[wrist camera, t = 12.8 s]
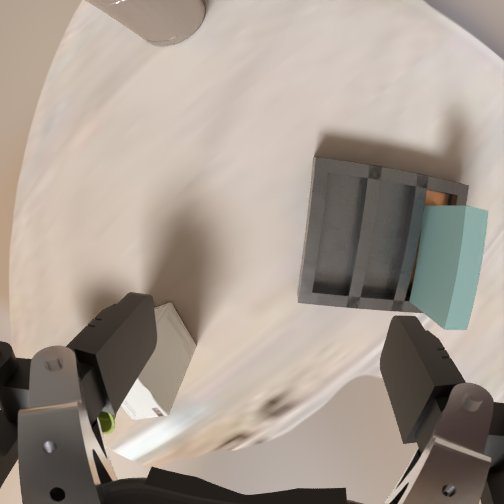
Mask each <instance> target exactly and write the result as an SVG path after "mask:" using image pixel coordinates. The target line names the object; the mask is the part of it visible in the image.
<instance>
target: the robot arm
mask: <svg viewBox="0 0 504 504" xmlns="http://www.w3.org/2000/svg"><path fill="white" fill-rule="evenodd" d="M85 1H87V2H89V3H91V4H92V5H94V6H95V7H97V8H99V9H100V10H102V11H103V12H105V13H106V14H108V15H110V16H111V17H113V18H114V19H116V20H117V21H119V22H120V23H122V24H123V25H125V26H126V27H128V28H129V29H130V30H132V31H133V32H135V33H136V34H138V35H139V36H140V37H142V38H143V39H145V40H146V41H147V42H149V43H151V44H153V45H157V46H169V45H174V44H177V43H179V42H182V41H183V40H185V39H187V38H188V37H190V36H191V35H192V34H193V33H194V32H195V31H196V30H197V29H198V28H199V26H200V25H201V23H202V21H203V19H204V15H205V6H204V3H203V1H202V0H85ZM156 344H157V328H156V319H155V311H154V302H153V298H152V296H151V295H147V294H140V293H133V292H130V293H128V294H127V295H126V296H125V297H124V298H123V299H122V300H121V301H120V302H119V303H118V304H114V305H112V306H110V307H108V308H106V309H104V310H102V311H101V312H100V313H99V314H98V315H97V316H96V317H95V320H94V319H93V320H92V321H91V322H90V323H89V324H88V326H86V327H85V328H84V329H83V330H82V331H81V332H80V333H79V334H78V335H77V336H76V337H75V338H74V339H73V340H72V341H71V342H70V343H69V344H68V345H67V346H66V347H65V346H51V347H47V348H44V349H42V350H40V351H39V352H37V353H36V354H35V355H34V357H33V358H32V359H24V358H16V357H15V355H14V352H13V350H12V347H11V346H10V344H8V343H6V342H1V341H0V409H1V410H0V488H1V486H2V484H3V483H4V481H5V479H6V478H7V476H8V474H9V473H10V471H11V469H12V468H13V466H14V464H15V463H16V461H17V460H19V475H20V486H21V494H22V502H23V504H362V503H359V502H354V501H351V500H347V498H346V488H330V489H329V488H326V489H304V488H297V489H292V490H286V491H279V492H272V493H264V494H255V495H244V494H240V493H237V492H234V491H231V490H228V489H226V488H223V487H220V486H218V485H215V484H212V483H210V482H207V481H205V480H203V479H200V478H197V477H193V476H188V475H183V474H179V473H175V472H170V471H166V470H162V469H158V468H155V467H151V470H150V472H149V475H148V477H147V478H128V479H120V480H118V479H117V476H116V474H115V472H114V470H113V467H112V464H111V461H110V458H109V454H108V451H107V448H106V444H105V440H104V437H103V433H102V429H101V425H100V422H99V419H98V416H99V414H100V413H101V411H103V412H106V413H109V414H113V415H115V414H116V413H117V411H118V409H119V408H120V406H121V404H122V403H123V401H124V399H125V398H126V396H127V394H128V393H129V391H130V389H131V388H132V386H133V385H134V383H135V381H136V380H137V378H138V376H139V375H140V373H141V372H142V370H143V368H144V367H145V365H146V364H147V362H148V360H149V359H150V357H151V355H152V354H153V352H154V350H155V348H156ZM444 349H445V348H444V347H443V345H442V343H441V342H440V340H439V339H438V338H437V337H435V336H434V335H433V334H432V333H430V332H429V331H425V329H424V328H423V326H422V325H421V323H420V322H419V320H418V319H417V317H416V316H394V317H393V318H392V320H391V323H390V326H389V330H388V333H387V337H386V340H385V344H384V347H383V350H382V353H381V358H380V370H381V374H382V377H383V380H384V382H385V386H386V389H387V392H388V395H389V398H390V401H391V404H392V408H393V410H394V414H395V417H396V421H397V424H398V427H399V431H400V434H401V438H402V441H403V444H406V443H415V442H417V444H418V449H417V450H416V452H415V453H414V455H413V457H412V459H411V460H410V462H409V464H408V466H407V468H406V469H405V471H404V473H403V475H402V476H401V478H400V480H399V482H398V483H397V484H396V486H395V488H394V490H393V491H392V492H391V494H390V495H389V497H388V498H387V500H386V501H385V502H384V504H479V501H480V499H481V503H482V504H504V403H497V402H494V401H493V398H492V396H491V395H490V393H489V392H488V391H487V390H486V389H484V388H483V387H481V386H479V385H477V384H473V383H466V382H465V380H464V379H463V377H462V375H461V374H460V372H459V370H458V369H457V367H456V365H455V364H454V362H453V361H452V359H451V358H449V357H450V356H449V354H448V353H447V351H446V350H444Z"/></svg>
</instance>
